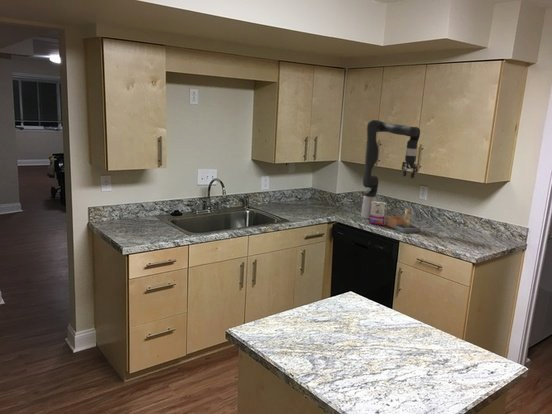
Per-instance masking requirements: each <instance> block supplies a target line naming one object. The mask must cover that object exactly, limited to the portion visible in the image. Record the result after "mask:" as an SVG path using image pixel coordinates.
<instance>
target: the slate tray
mask: <svg viewBox="0 0 552 414" xmlns="http://www.w3.org/2000/svg"><path fill="white" fill-rule="evenodd" d="M392 229H393V230H395V231H397V232H400V233H402V234H408V233H409V234H411V233H420V227H418V226H415V225H413V224H411V223H410V227H409V228H404V224H403V225H394V228H392Z"/></svg>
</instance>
